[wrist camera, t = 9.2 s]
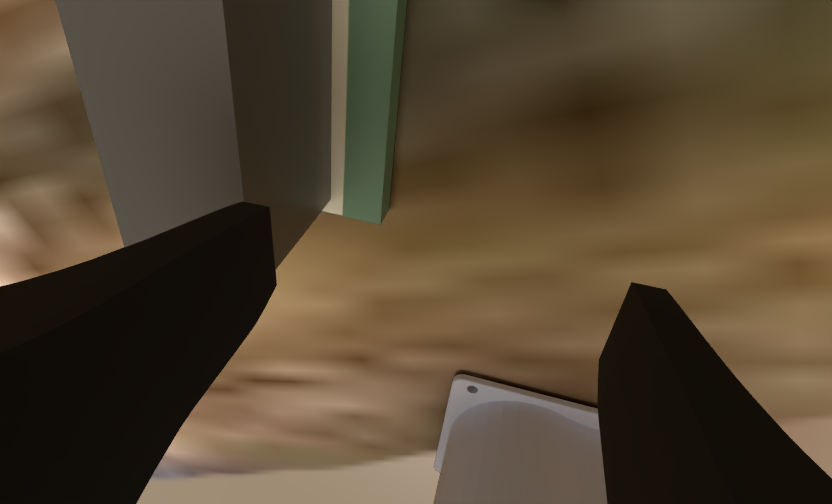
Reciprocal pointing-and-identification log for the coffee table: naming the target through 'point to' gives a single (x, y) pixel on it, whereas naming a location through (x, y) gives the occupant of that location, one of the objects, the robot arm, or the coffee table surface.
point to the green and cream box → (364, 105)
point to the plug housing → (207, 108)
